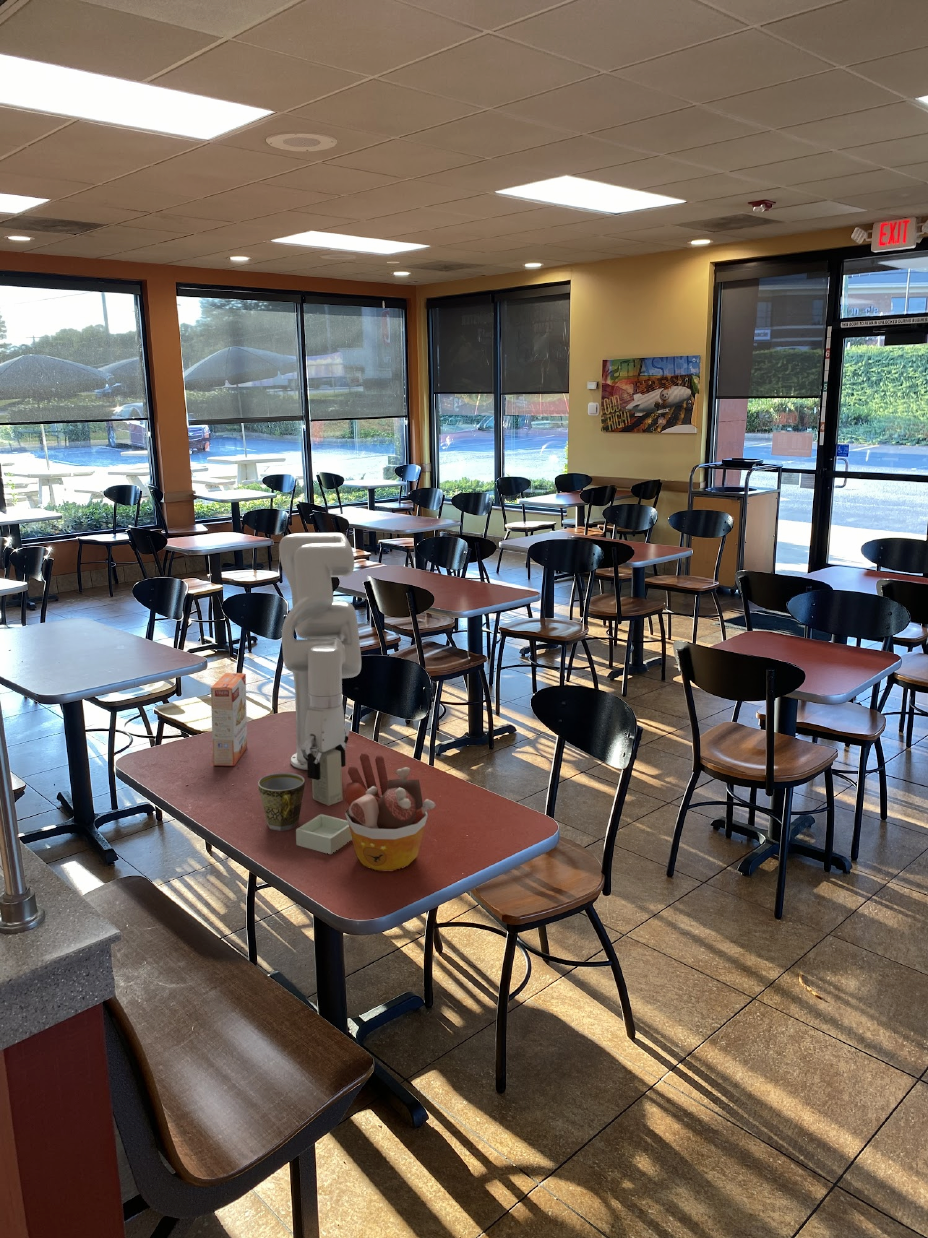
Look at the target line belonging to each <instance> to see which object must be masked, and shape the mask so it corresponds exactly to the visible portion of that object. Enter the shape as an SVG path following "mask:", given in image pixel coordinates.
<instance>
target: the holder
mask: <svg viewBox="0 0 928 1238" xmlns="http://www.w3.org/2000/svg"><path fill="white" fill-rule="evenodd" d="M295 840H296V841H295V842H296V846H299V847H303V848H305V849H309V850H314V851H316V852H321V853H324V854H327V853H328V854H329V855H333V854H334V853H336V852H337V851H339V849H341V848H342V847H344V846H345V845H347V844H348V843H350V842H351V841H353V840H352V836H351V832H350V828H349V824H348V820H347V819H341V818H339V817H336V816H330V815H327V814H323V813H320V814H318V815H316V816H315V817H314V818H312V819H311V820H309V821H307V822H306V823H304V824H302V825H301V826H300V827H297V828H296V829H295ZM350 840H351V841H350ZM349 841H350V842H349ZM347 842H348V843H347ZM343 845H344V846H343ZM336 850H337V851H336ZM333 852H334V853H333Z"/></svg>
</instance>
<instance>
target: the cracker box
mask: <svg viewBox="0 0 928 1238" xmlns="http://www.w3.org/2000/svg"><path fill="white" fill-rule="evenodd" d="M210 704H211V708H210V711H211V733H212V734H211V736H212V738H211V739H212V742H211V743H212V765H213V766H214V767H218V766H219V767H235V766H236V764H237V762H238V761H239V760H240V759H241V757H242V756H243V754H244V753H245V751H246V750H247V748H248V729H247V728H248V723H247V721H248V720H247V716H248V715H247V675H246V673H242V672H241V673H240V672H225V673H224V674H223V675H222V676H220V678H219V679H218V680H217V681H216V682H215V683H214V684H213V685H212V686H211V687H210Z"/></svg>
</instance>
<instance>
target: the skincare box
mask: <svg viewBox="0 0 928 1238" xmlns="http://www.w3.org/2000/svg"><path fill="white" fill-rule="evenodd" d="M315 749H318V748H315ZM315 755H316V753H315V752H313V756H314V757H315ZM318 762H319V763H320V772H321V778H320V779H319V780H315V779H311V782H312V783H311V784H312V785H311V787H312V789H311V790H312V799H313V800H315V801H317V802H319V803H321V804H324V805H326V806H331V805H334V804H337V803H340V802H343V779H342V778H343V777H342V767H341V751H338V750H335V749H333V748H332V749H330V750H328V751H326V752H324V753H322V754H321V756H320V759H319V761H318Z"/></svg>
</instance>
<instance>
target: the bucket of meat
mask: <svg viewBox="0 0 928 1238" xmlns="http://www.w3.org/2000/svg"><path fill="white" fill-rule="evenodd" d="M359 760H360V766H361V768H362V771H363V776H364V780H365V781H363V778H362V776H361V773H360V771H359V769H358V768H357V767H356V766H354V765H351V766H349V767H348V770H347V773H348V774H347V775H348V776H349V778H350V780H351V782H349V783H347V784H346V786H345V788H344V790H343V793H344V798H345V802H346V804H347V805H348V806H349V808H348V809H347V810H346V811H345V817H346V820H347V821H348V824H349V828H350V832H351V836H352V840H351V841H352V844H353V848H354V852H355V856H356V857H357V858H358V860H359V862H360V863H361V864H362V865H363V866H364V867H365V866H367V867H366V868H368V867H370V868H373V869H375V870H374V871H376V870H395V871H397V870H396V869H399V868H402V867H404V866H407V867H408V866H409V865H410V864H411V863H412V862H413V861H414V860H415V859H416V858H417V857H418V856H419V852H420V847H421V843H422V840H423V839H422V838H423V834H424V831H425V826H426V822H427V819H428V816H429V814H428V810H433V809H434V808H435V807H436V804H435V802H434V801H432V800H430V799H429V798H426V799H425V800H424V801H423V796H422V790H421V784H420V780H419V779H408V776H409V775H410V773H411V769H410V767H407V766H405V767H402V768H399V769H396V771H395V774H396V775H397V776H398V777H399V778H395V779H394V778H392V779H388V774H387V768H386V763H385V758H384V757H383V755H381V754H380V755H378V754H377V755H376V756H375V766H376V772H377V776H378V781H379V786H380V793H381V795H380V794H379V791H378V790H379V789H378V787H377V783H376V779H375V774H374V770H373V768H372V764H371V760H370V756H369V755H368V754H367V753H366V752H363V753H361V754H360V756H359ZM365 784H366V785H365ZM370 868H369V869H370ZM373 869H372V870H373ZM402 869H403V868H402ZM399 870H400V869H399Z"/></svg>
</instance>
